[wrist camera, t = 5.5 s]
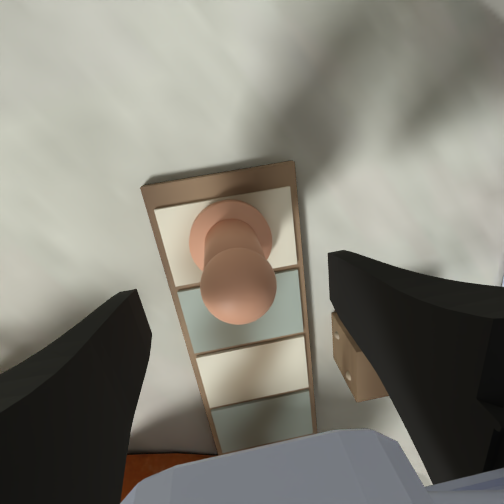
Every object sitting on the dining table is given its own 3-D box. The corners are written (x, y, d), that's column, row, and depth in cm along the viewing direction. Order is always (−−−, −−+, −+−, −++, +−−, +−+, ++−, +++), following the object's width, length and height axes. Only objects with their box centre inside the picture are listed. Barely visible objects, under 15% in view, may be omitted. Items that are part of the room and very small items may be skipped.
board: (291, 160, 16) (295, 162, 16) (315, 432, 25) (318, 442, 25) (142, 185, 16) (139, 188, 15) (220, 454, 25) (220, 464, 24)
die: (387, 298, 21) (426, 338, 17) (385, 346, 23) (420, 391, 19) (327, 310, 21) (354, 352, 17) (330, 357, 22) (355, 406, 19)
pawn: (264, 193, 16) (298, 237, 10) (273, 266, 18) (307, 343, 12) (181, 207, 16) (163, 261, 10) (199, 280, 18) (193, 366, 11)
